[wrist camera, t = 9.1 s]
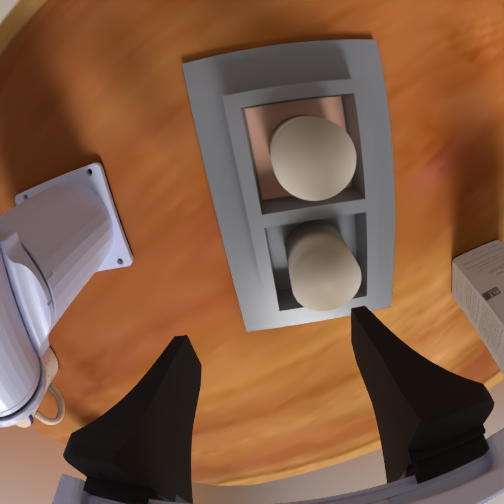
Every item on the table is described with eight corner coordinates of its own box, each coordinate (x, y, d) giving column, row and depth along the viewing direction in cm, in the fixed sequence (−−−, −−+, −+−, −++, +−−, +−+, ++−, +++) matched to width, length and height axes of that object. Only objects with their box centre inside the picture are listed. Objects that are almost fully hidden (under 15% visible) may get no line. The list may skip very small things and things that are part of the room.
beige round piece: (289, 276, 22) (295, 316, 18) (281, 224, 20) (287, 257, 16) (343, 267, 21) (361, 304, 17) (340, 215, 19) (361, 244, 15)
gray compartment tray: (246, 327, 24) (245, 353, 22) (183, 65, 16) (170, 58, 13) (388, 303, 23) (401, 326, 21) (373, 40, 14) (392, 32, 12)
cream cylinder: (274, 183, 18) (278, 206, 14) (263, 119, 17) (265, 123, 13) (337, 174, 18) (359, 195, 14) (329, 111, 16) (352, 114, 12)
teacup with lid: (-2, 336, 28) (-44, 398, 17) (12, 305, 25) (-45, 377, 14) (65, 394, 32) (35, 462, 21) (91, 375, 29) (55, 458, 18)
